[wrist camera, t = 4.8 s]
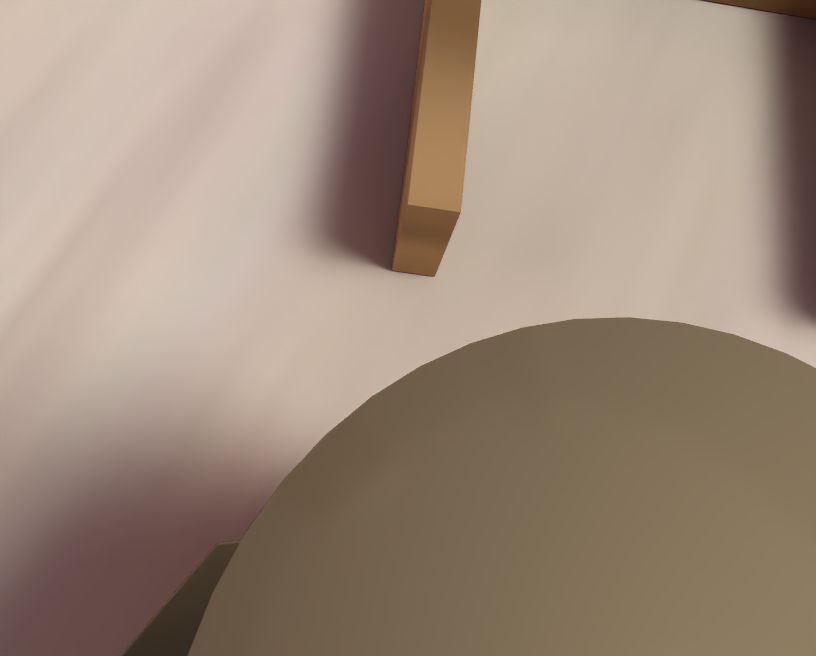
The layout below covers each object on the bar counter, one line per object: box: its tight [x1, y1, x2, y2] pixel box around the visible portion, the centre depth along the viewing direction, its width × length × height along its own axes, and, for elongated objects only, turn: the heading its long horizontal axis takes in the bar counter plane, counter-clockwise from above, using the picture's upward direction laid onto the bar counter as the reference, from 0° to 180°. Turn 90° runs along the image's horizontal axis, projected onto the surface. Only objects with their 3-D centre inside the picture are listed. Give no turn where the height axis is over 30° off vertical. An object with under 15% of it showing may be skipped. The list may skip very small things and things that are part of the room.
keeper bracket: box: [392, 0, 816, 276], centre depth 18 cm, size 10×12×4 cm
